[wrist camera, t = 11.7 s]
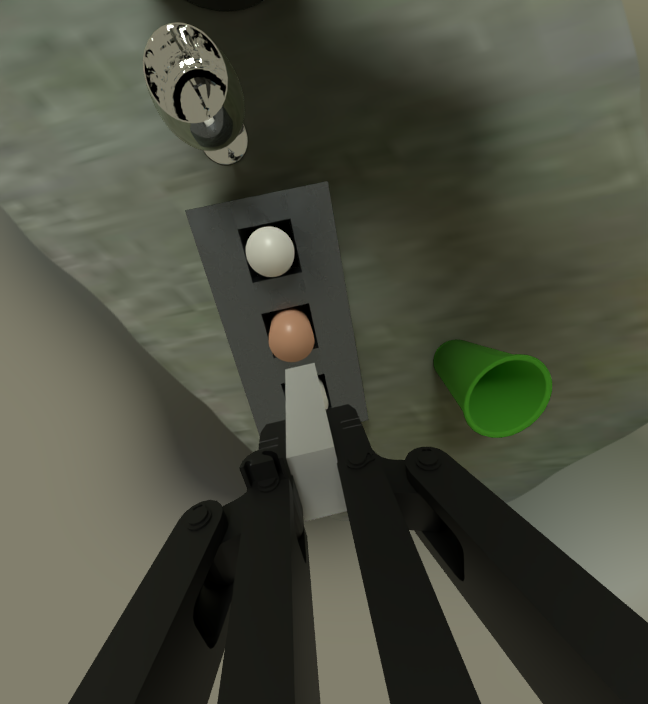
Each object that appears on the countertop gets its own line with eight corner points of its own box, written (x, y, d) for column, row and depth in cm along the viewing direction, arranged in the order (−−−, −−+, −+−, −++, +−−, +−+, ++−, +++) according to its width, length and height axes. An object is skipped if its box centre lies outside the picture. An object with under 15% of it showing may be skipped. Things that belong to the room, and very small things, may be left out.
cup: (423, 397, 42) (468, 449, 31) (412, 335, 38) (460, 371, 28) (486, 378, 42) (552, 423, 32) (482, 315, 39) (553, 343, 28)
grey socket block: (202, 215, 31) (185, 210, 25) (319, 191, 31) (327, 181, 26) (265, 416, 40) (262, 445, 34) (356, 394, 40) (368, 419, 35)
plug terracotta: (267, 307, 33) (263, 324, 26) (303, 299, 33) (309, 314, 27) (276, 342, 34) (275, 366, 28) (311, 334, 35) (318, 356, 28)
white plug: (248, 233, 31) (239, 232, 25) (287, 225, 32) (288, 221, 25) (259, 272, 33) (253, 281, 26) (295, 264, 33) (299, 271, 27)
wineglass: (179, 144, 29) (113, 84, 18) (211, 83, 27) (161, -21, 16) (234, 186, 30) (206, 156, 19) (266, 131, 29) (256, 65, 18)
